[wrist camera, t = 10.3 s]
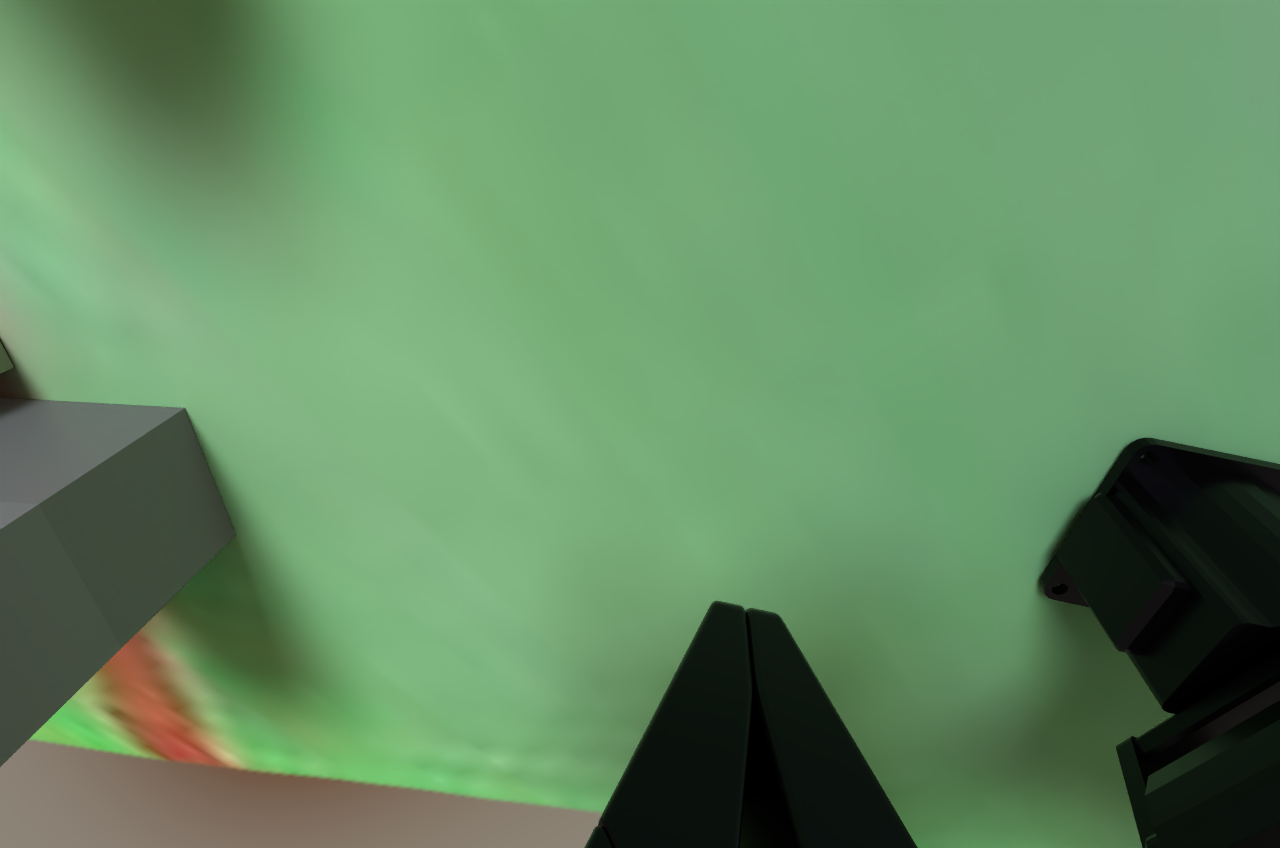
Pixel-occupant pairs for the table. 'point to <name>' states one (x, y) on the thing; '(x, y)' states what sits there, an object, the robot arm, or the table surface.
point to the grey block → (91, 541)
